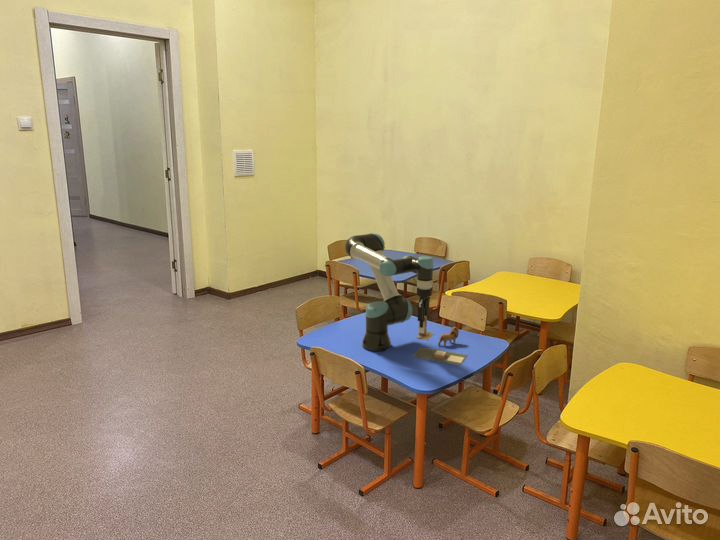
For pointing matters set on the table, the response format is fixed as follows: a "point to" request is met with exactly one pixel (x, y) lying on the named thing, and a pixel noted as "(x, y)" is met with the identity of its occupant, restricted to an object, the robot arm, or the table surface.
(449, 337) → the lion figurine
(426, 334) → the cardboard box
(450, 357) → the taupe mat
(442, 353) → the cream square tile
